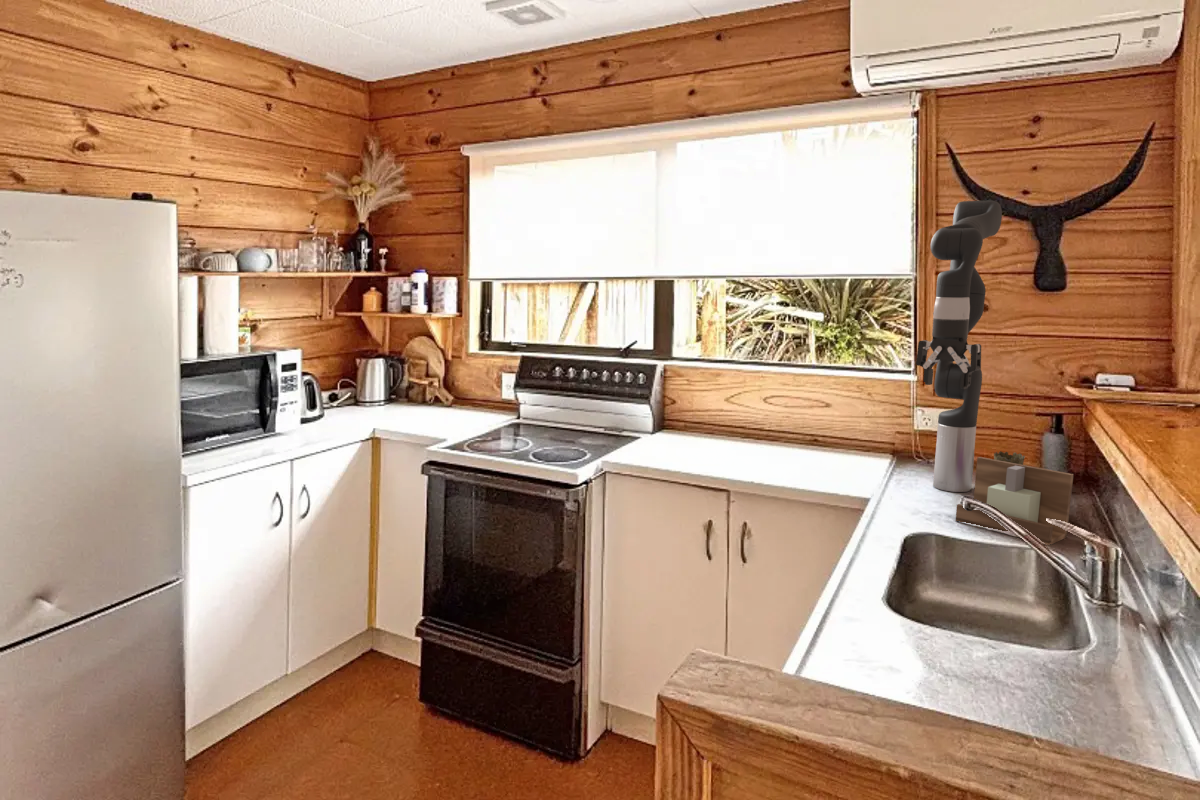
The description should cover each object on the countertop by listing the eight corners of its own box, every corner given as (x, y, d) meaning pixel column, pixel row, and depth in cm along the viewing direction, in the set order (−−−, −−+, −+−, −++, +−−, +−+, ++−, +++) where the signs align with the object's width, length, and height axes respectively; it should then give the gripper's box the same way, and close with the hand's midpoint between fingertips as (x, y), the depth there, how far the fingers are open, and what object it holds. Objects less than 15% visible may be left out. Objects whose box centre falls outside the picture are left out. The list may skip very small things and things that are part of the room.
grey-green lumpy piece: (989, 483, 210) (992, 454, 208) (993, 477, 216) (996, 449, 214) (1020, 487, 205) (1023, 458, 204) (1023, 481, 211) (1026, 453, 210)
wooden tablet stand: (974, 514, 181) (979, 456, 179) (1066, 537, 165) (1073, 474, 163) (955, 521, 176) (960, 462, 173) (1048, 545, 160) (1055, 480, 158)
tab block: (996, 517, 176) (1001, 462, 174) (1037, 527, 169) (1042, 470, 167) (985, 521, 173) (990, 465, 171) (1026, 531, 166) (1032, 473, 164)
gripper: (990, 317, 173) (984, 388, 176) (929, 315, 184) (925, 381, 187) (974, 319, 168) (968, 392, 171) (913, 316, 179) (908, 384, 182)
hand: (946, 386), depth 179 cm, fingers open, 8 cm apart
